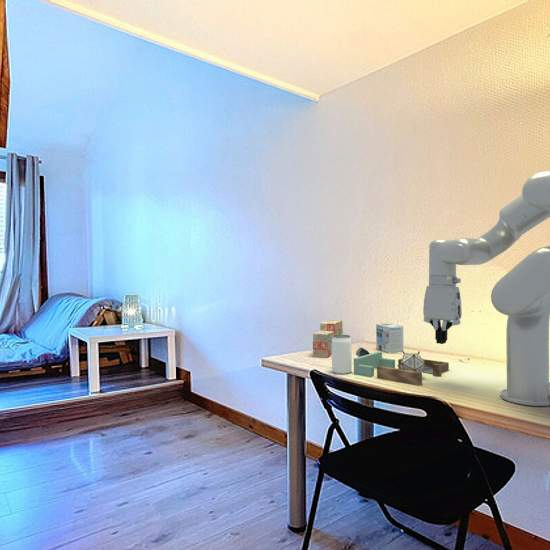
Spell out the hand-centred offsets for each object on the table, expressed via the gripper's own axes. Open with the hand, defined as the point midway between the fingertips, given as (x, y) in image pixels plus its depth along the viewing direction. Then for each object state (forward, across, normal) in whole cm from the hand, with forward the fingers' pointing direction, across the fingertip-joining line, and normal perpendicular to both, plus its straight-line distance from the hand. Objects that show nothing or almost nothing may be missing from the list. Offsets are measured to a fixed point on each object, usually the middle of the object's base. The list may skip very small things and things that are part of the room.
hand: (441, 343), depth 133 cm
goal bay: (+12, +22, 0) cm, 25 cm away
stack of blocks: (+14, +54, -17) cm, 58 cm away
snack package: (+13, +32, -10) cm, 36 cm away
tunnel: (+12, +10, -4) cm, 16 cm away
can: (+13, +30, +8) cm, 33 cm away
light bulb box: (+13, +36, -35) cm, 52 cm away
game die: (+12, +9, 0) cm, 15 cm away
